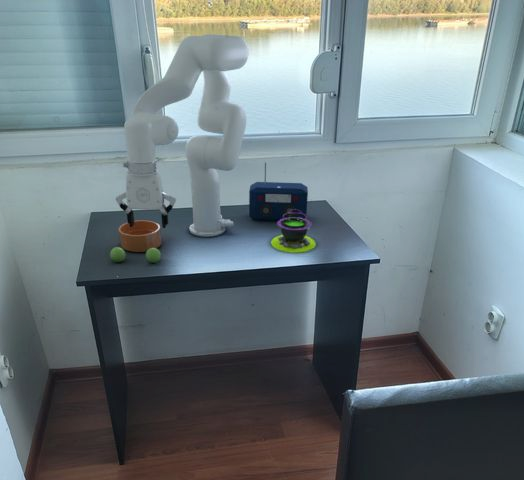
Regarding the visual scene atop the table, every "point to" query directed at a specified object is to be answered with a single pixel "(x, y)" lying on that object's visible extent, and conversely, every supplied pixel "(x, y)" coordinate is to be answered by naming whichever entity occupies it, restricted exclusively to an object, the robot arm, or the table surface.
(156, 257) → the pea ball
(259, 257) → the table surface
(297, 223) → the toy cauldron
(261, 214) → the radio
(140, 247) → the bowl
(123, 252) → the pea ball
